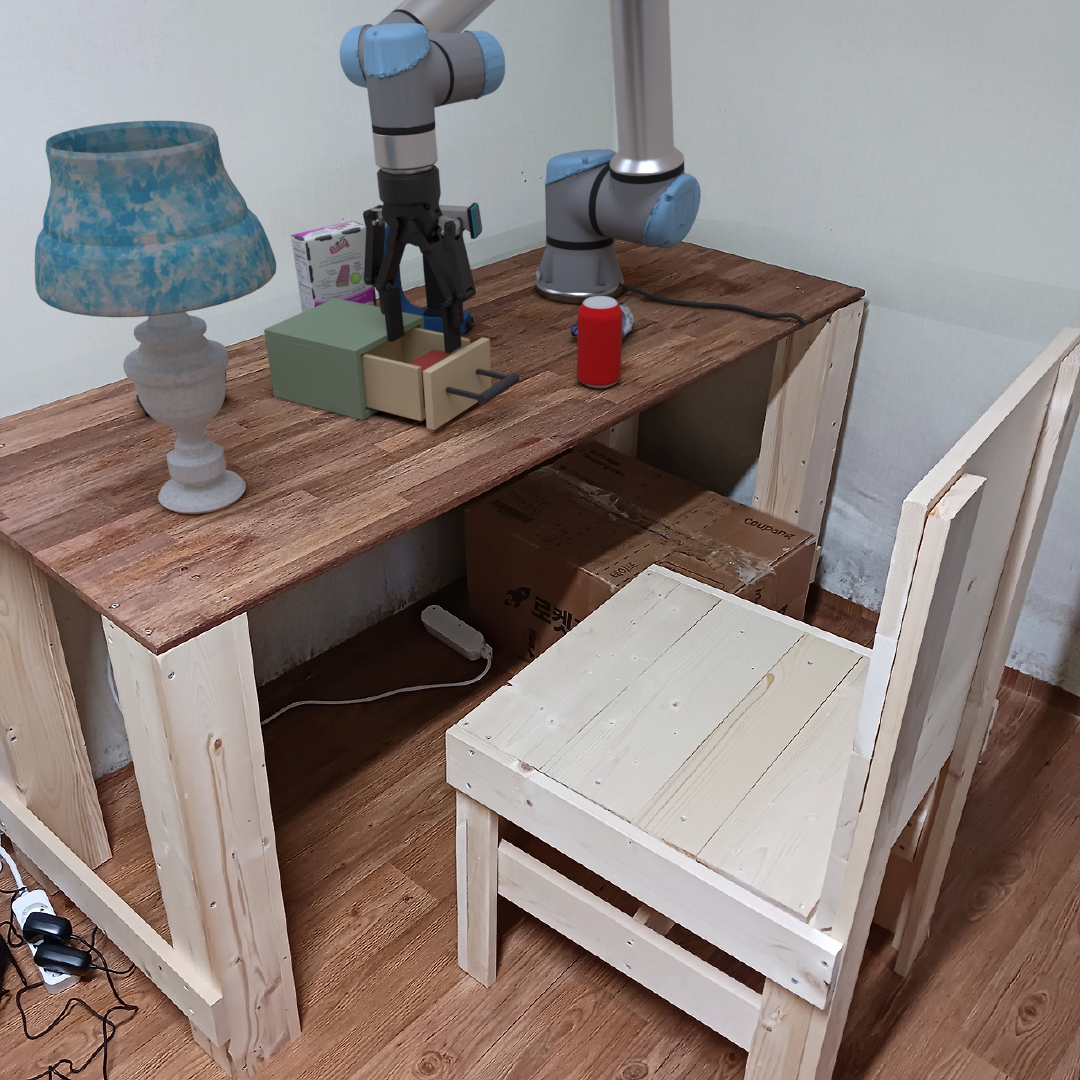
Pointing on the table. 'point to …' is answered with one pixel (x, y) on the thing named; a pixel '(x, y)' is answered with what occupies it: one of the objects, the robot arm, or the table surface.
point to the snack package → (626, 322)
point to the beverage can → (599, 342)
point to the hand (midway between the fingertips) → (424, 343)
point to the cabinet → (328, 354)
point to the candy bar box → (332, 265)
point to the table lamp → (156, 273)
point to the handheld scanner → (431, 285)
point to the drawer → (430, 377)
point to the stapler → (429, 362)
